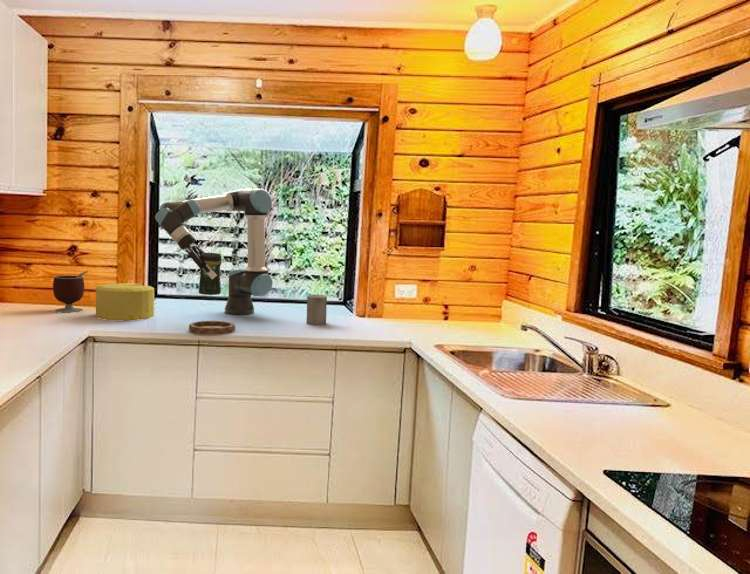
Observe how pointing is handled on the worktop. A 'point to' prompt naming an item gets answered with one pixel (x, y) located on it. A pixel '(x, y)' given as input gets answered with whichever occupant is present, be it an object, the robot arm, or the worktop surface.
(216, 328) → the tray
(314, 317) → the pillar candle
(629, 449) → the worktop surface
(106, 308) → the cheese
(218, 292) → the coffee jar
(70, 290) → the mate gourd
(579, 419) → the worktop surface
